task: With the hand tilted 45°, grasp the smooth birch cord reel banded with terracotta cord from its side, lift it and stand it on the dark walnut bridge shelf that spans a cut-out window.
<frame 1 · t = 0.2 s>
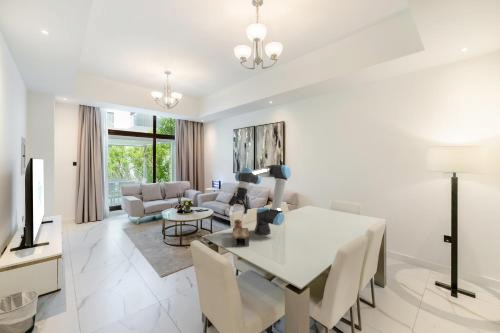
hand: (236, 216, 158), 27 cm above the table, fingers open, 13 cm apart
bridge shelf: (240, 241, 182), on the table
cord reel: (238, 233, 200), on the table
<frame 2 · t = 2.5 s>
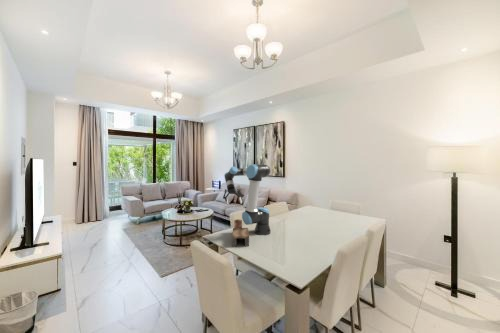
hand: (234, 203, 208), 25 cm above the table, fingers open, 13 cm apart
nothing on the table moved.
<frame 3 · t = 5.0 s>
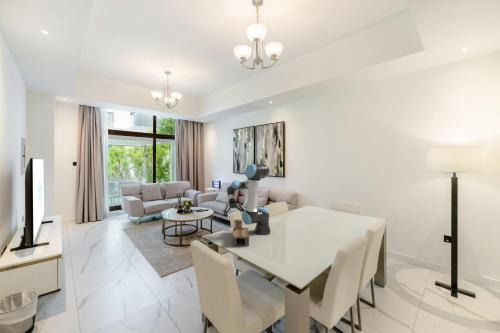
hand: (235, 218, 206), 12 cm above the table, fingers open, 13 cm apart
nothing on the table moved.
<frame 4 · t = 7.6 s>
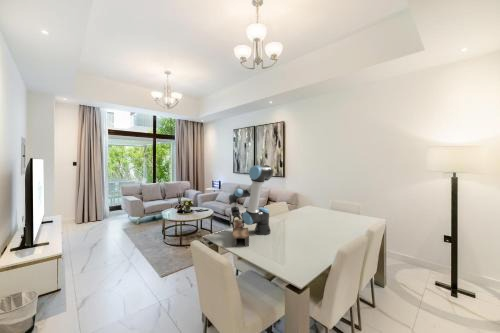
hand: (239, 230, 197), 4 cm above the table, fingers closed on cord reel, 7 cm apart
cord reel: (238, 233, 200), on the table, touching gripper
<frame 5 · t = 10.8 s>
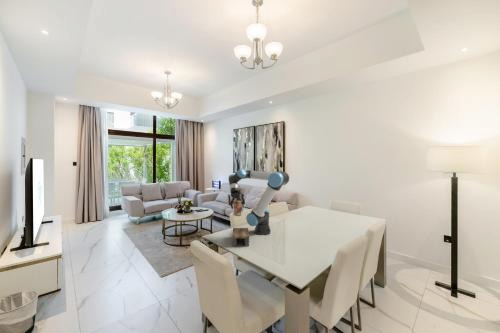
hand: (238, 211, 185), 24 cm above the table, fingers closed on cord reel, 7 cm apart
cord reel: (237, 215, 189), point 20 cm above the table, touching gripper
when the fingers open (13 cm above the table, at t = 13.8 s): cord reel drops 1 cm, resting on bridge shelf.
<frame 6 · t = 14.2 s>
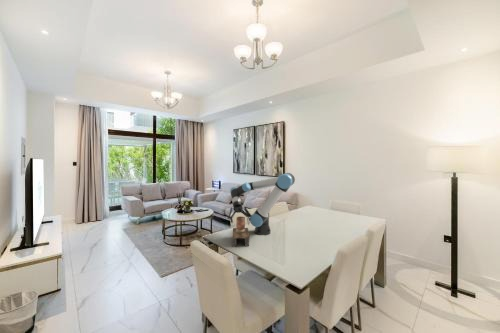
hand: (241, 225, 179), 15 cm above the table, fingers open, 12 cm apart
cord reel: (240, 231, 182), point 8 cm above the table, touching bridge shelf
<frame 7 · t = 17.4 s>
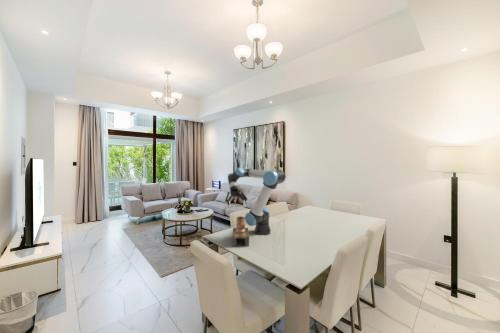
hand: (237, 207, 190), 26 cm above the table, fingers open, 13 cm apart
nothing on the table moved.
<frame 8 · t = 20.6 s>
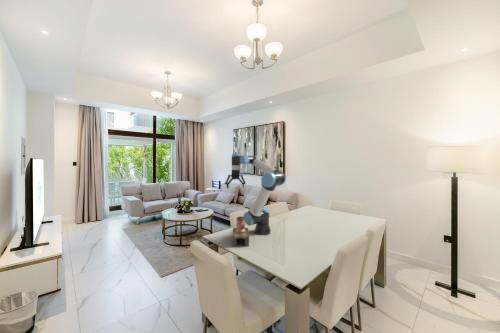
hand: (235, 191, 211), 37 cm above the table, fingers open, 13 cm apart
nothing on the table moved.
at the end: cord reel inside the target area on the bridge shelf (0.1 cm from its centre), point 8.0 cm above the bridge shelf's base; cord reel tilted 0°; the gripper is holding nothing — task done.
